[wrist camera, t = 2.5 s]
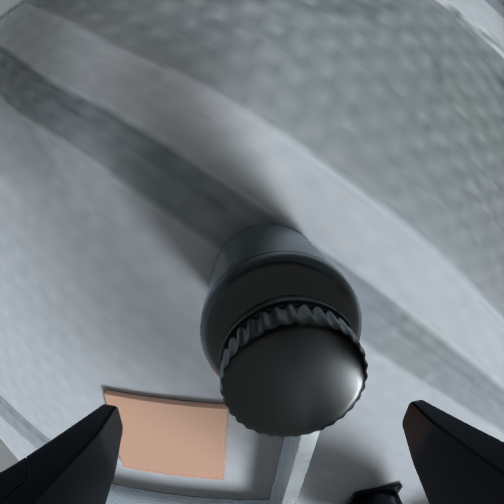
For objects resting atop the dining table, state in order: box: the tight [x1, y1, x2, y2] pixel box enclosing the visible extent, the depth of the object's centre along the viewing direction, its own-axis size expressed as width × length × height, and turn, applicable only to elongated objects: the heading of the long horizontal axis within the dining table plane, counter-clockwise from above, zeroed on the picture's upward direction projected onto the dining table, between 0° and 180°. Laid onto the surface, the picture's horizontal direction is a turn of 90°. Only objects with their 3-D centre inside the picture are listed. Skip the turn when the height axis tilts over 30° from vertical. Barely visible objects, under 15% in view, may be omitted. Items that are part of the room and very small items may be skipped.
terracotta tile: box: [104, 390, 227, 480], centre depth 24 cm, size 10×10×1 cm
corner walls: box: [106, 431, 320, 504], centre depth 23 cm, size 20×20×4 cm
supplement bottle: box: [200, 224, 368, 438], centre depth 15 cm, size 7×7×12 cm
